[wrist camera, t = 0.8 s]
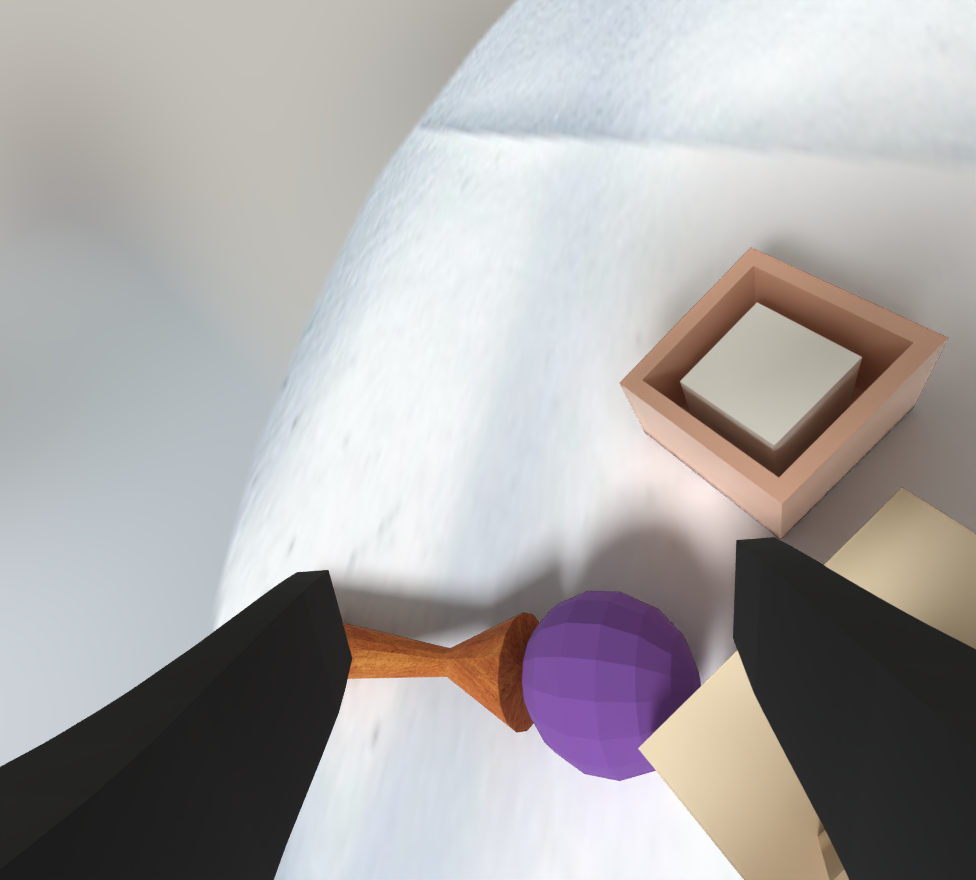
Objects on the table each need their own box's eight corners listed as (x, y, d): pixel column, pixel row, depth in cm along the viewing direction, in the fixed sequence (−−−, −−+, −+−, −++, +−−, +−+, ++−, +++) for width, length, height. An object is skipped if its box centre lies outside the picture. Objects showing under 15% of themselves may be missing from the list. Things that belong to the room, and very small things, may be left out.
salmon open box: (913, 406, 21) (948, 337, 16) (780, 539, 21) (781, 503, 17) (755, 320, 25) (750, 247, 20) (645, 432, 25) (619, 383, 21)
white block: (848, 408, 21) (861, 357, 18) (774, 482, 21) (774, 445, 18) (759, 356, 23) (756, 302, 20) (693, 423, 24) (680, 381, 20)
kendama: (259, 566, 27) (676, 566, 17) (340, 604, 31) (712, 622, 21) (206, 697, 24) (674, 788, 14) (303, 719, 28) (716, 802, 18)
